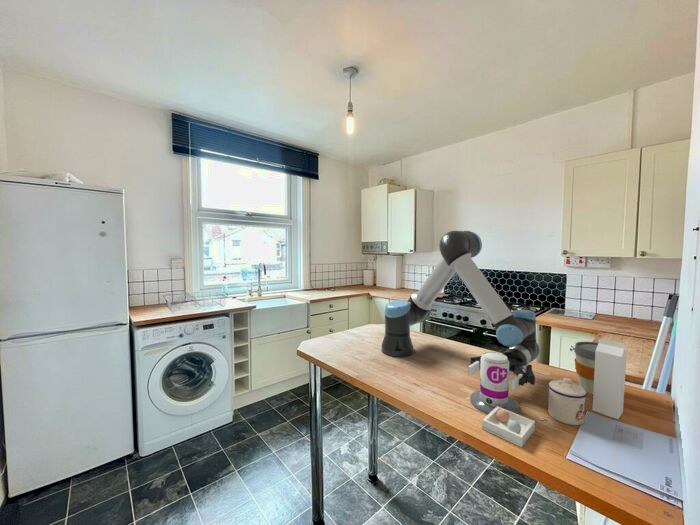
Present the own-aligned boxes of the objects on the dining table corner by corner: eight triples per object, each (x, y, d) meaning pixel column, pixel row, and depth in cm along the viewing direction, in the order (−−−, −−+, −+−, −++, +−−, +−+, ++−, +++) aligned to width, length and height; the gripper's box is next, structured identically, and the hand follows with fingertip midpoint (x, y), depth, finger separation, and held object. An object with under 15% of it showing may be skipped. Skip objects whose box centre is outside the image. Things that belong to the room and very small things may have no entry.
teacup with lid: (583, 430, 80) (586, 389, 79) (544, 417, 86) (546, 379, 85) (587, 411, 89) (589, 374, 88) (551, 400, 95) (552, 366, 94)
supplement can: (510, 410, 89) (512, 362, 87) (481, 406, 91) (482, 359, 90) (505, 397, 96) (507, 352, 95) (478, 393, 99) (479, 350, 98)
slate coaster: (462, 403, 94) (462, 400, 94) (481, 388, 104) (481, 386, 104) (508, 423, 84) (508, 420, 84) (525, 404, 93) (525, 402, 93)
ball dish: (482, 428, 82) (482, 419, 81) (497, 414, 88) (497, 406, 88) (521, 447, 74) (521, 437, 74) (534, 430, 81) (534, 421, 81)
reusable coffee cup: (572, 391, 101) (574, 349, 100) (572, 377, 111) (574, 338, 110) (622, 403, 93) (624, 357, 92) (617, 387, 103) (619, 345, 102)
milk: (618, 420, 85) (622, 346, 83) (591, 410, 90) (595, 340, 88) (623, 412, 88) (627, 341, 87) (597, 403, 93) (601, 336, 91)
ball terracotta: (494, 420, 84) (495, 410, 83) (499, 416, 86) (499, 405, 86) (506, 426, 81) (507, 415, 81) (511, 421, 83) (511, 410, 83)
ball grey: (505, 432, 79) (505, 421, 79) (510, 427, 81) (510, 416, 81) (518, 438, 76) (518, 426, 76) (522, 432, 78) (523, 421, 78)
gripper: (556, 380, 96) (534, 405, 82) (480, 358, 114) (452, 376, 100) (557, 358, 95) (535, 380, 81) (481, 339, 114) (453, 354, 100)
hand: (489, 377), depth 91 cm, fingers open, 13 cm apart
